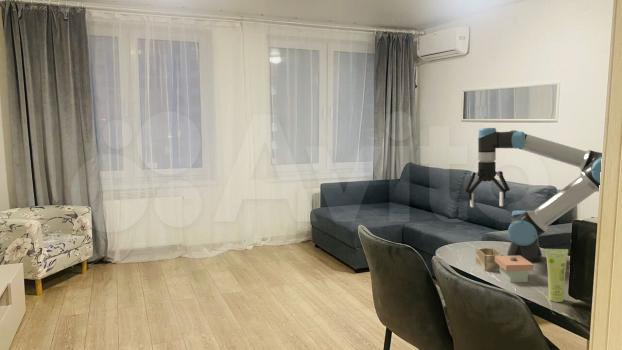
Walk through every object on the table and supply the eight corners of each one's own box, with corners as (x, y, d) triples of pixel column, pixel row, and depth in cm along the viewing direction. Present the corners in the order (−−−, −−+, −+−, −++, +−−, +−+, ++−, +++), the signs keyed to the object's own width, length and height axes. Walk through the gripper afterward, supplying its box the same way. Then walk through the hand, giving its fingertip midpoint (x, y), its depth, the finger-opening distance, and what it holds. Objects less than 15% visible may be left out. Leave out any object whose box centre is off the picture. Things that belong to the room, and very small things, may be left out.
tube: (556, 304, 165) (557, 251, 163) (544, 299, 170) (545, 248, 167) (567, 301, 167) (568, 249, 165) (554, 296, 172) (555, 246, 170)
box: (493, 262, 215) (493, 247, 214) (502, 270, 203) (503, 255, 202) (476, 262, 215) (476, 248, 214) (484, 270, 203) (484, 255, 202)
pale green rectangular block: (515, 272, 200) (516, 261, 199) (527, 282, 188) (527, 270, 187) (499, 272, 200) (499, 261, 199) (510, 282, 188) (510, 270, 187)
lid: (520, 260, 200) (520, 253, 199) (533, 270, 187) (533, 262, 186) (494, 261, 200) (494, 253, 200) (506, 271, 187) (506, 262, 187)
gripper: (511, 159, 214) (510, 204, 216) (457, 161, 215) (457, 205, 217) (517, 161, 206) (516, 207, 209) (461, 162, 207) (461, 208, 210)
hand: (486, 206), depth 213 cm, fingers open, 13 cm apart
